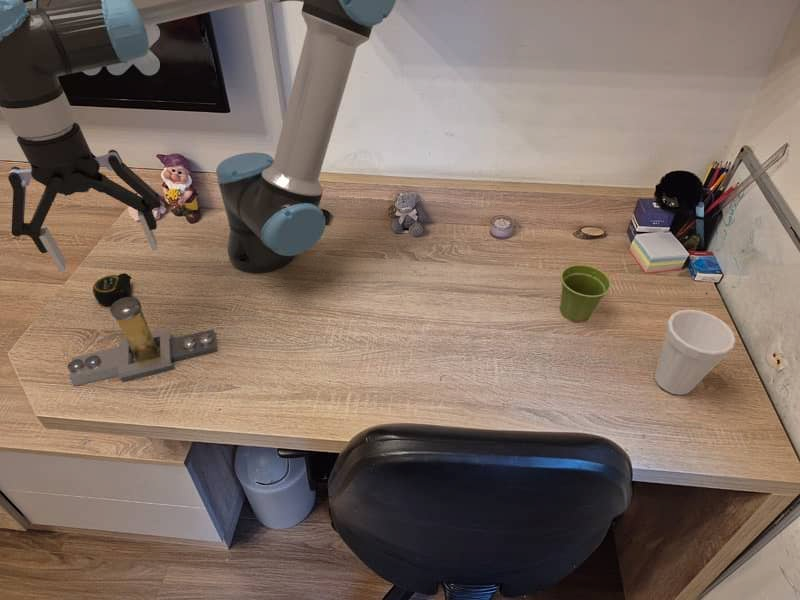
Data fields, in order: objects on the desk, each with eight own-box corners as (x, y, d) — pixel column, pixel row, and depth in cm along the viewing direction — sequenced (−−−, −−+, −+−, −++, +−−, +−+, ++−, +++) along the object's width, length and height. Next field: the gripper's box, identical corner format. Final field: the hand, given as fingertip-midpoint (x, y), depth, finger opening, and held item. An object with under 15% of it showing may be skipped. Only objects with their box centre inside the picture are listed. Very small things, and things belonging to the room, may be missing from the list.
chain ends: (214, 326, 102) (210, 316, 100) (218, 358, 96) (215, 348, 94) (76, 358, 96) (69, 348, 94) (71, 394, 90) (65, 384, 88)
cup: (713, 383, 92) (746, 331, 84) (687, 415, 87) (720, 363, 78) (659, 352, 98) (685, 300, 89) (632, 380, 93) (657, 329, 84)
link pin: (162, 346, 98) (139, 294, 90) (162, 364, 95) (139, 312, 86) (135, 352, 97) (110, 300, 88) (135, 370, 94) (109, 318, 85)
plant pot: (607, 310, 106) (619, 277, 100) (587, 336, 101) (599, 303, 95) (564, 290, 110) (574, 258, 105) (543, 314, 105) (552, 281, 99)
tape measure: (132, 304, 107) (126, 290, 104) (96, 311, 105) (88, 297, 103) (134, 283, 112) (128, 270, 109) (99, 290, 110) (92, 276, 108)
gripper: (145, 102, 75) (188, 225, 89) (-57, 133, 68) (25, 260, 83) (147, 123, 70) (192, 250, 84) (-71, 159, 63) (19, 290, 78)
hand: (109, 255), depth 84 cm, fingers open, 13 cm apart
